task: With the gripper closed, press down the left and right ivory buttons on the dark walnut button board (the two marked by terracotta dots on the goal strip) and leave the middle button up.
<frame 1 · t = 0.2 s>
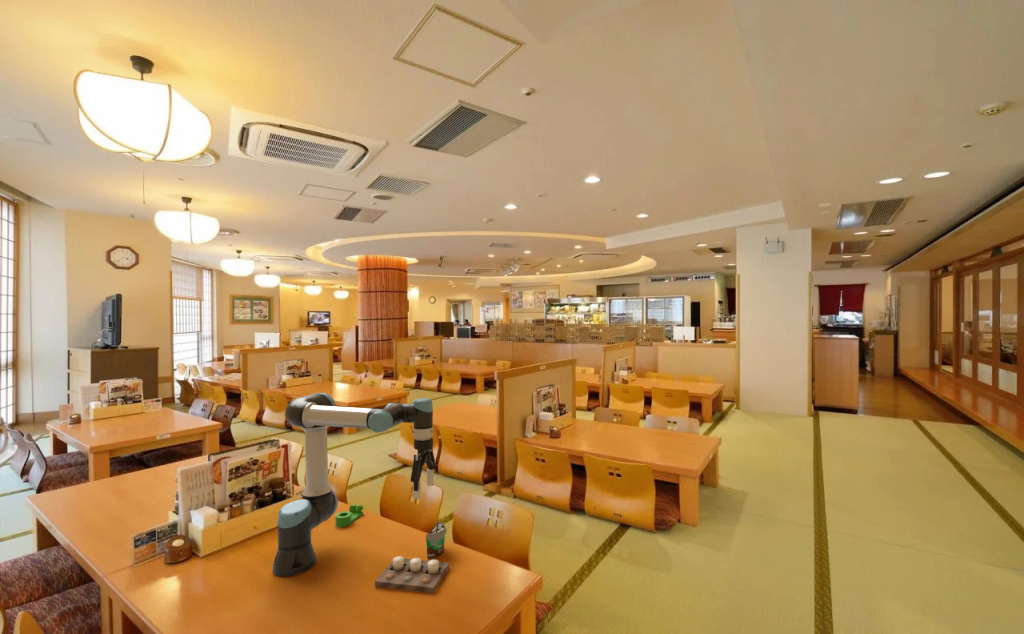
hand: (423, 491, 172), 27 cm above the table, fingers open, 13 cm apart
board: (413, 577, 161), on the table
food container: (438, 553, 178), on the table
button right: (433, 567, 161), point 3 cm above the table, slide at 0.0 cm
button left: (398, 563, 164), point 3 cm above the table, slide at 0.0 cm
button mid: (415, 565, 163), point 3 cm above the table, slide at 0.0 cm
green ring bracket: (348, 521, 209), on the table
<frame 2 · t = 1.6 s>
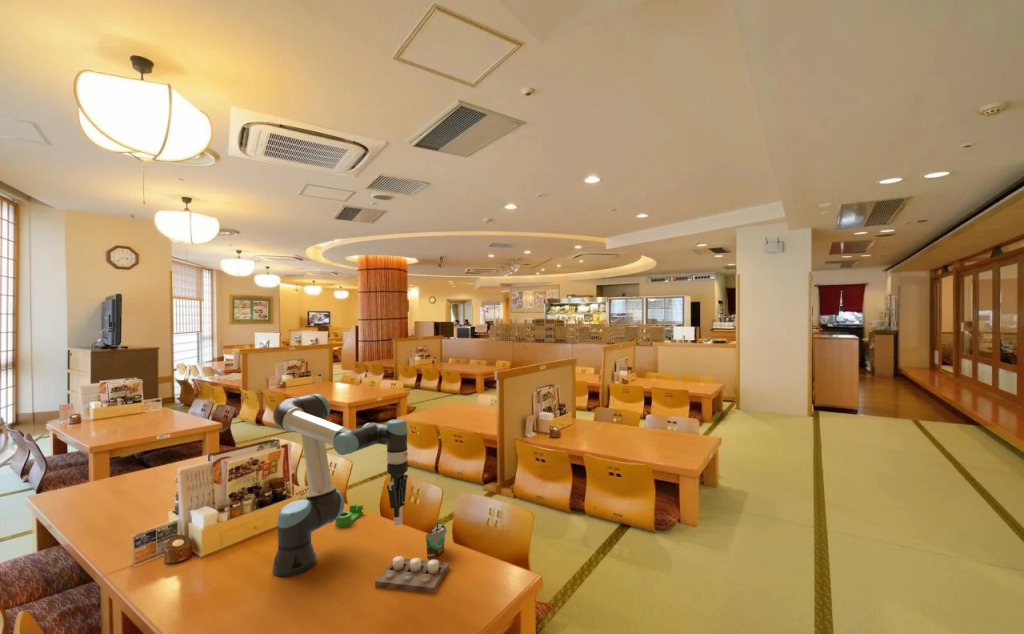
hand: (398, 524, 164), 18 cm above the table, fingers closed
nothing on the table moved.
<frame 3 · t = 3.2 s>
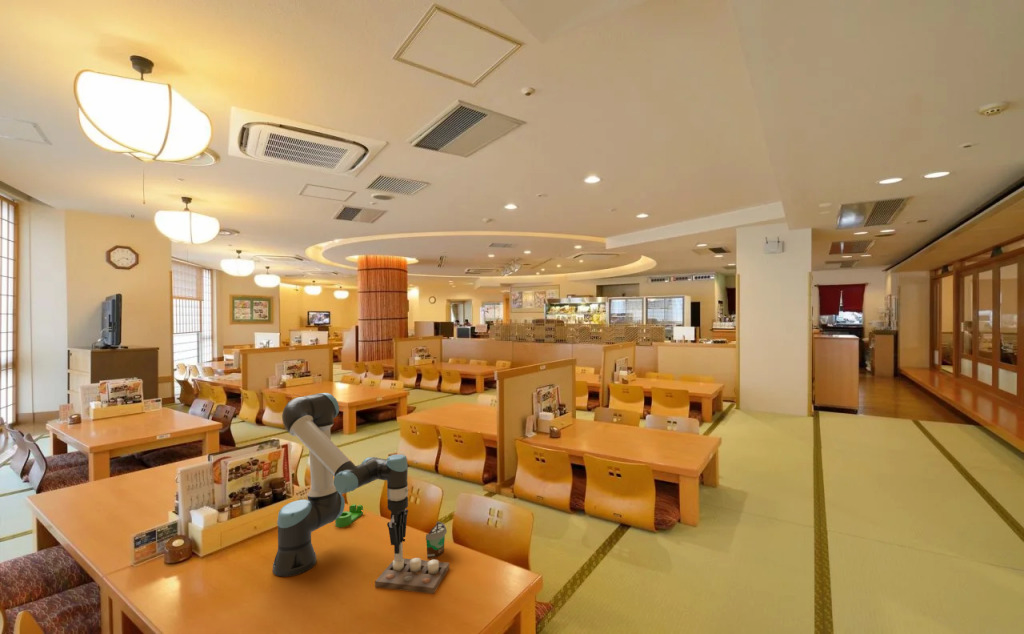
hand: (398, 560, 164), 5 cm above the table, fingers closed
button left: (398, 565, 164), point 3 cm above the table, slide at 0.7 cm, touching gripper
everything else where it was.
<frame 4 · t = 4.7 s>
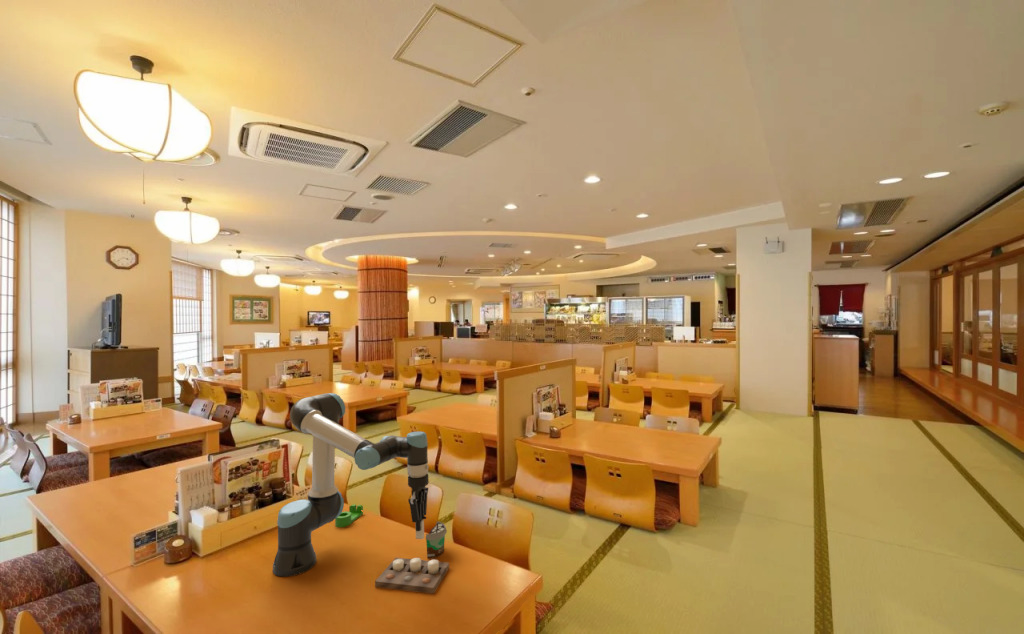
hand: (420, 538, 162), 14 cm above the table, fingers closed
button left: (398, 566, 164), point 2 cm above the table, slide at 1.1 cm
everything else where it was.
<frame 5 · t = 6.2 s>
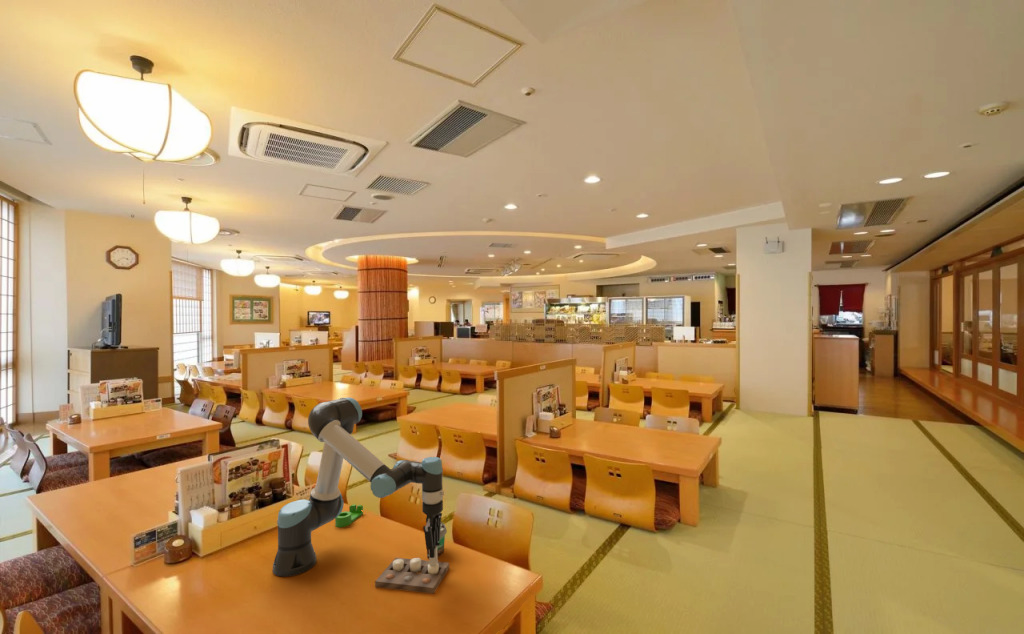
hand: (433, 564, 161), 4 cm above the table, fingers closed
button right: (433, 569, 161), point 2 cm above the table, slide at 1.0 cm, touching gripper
everything else where it was.
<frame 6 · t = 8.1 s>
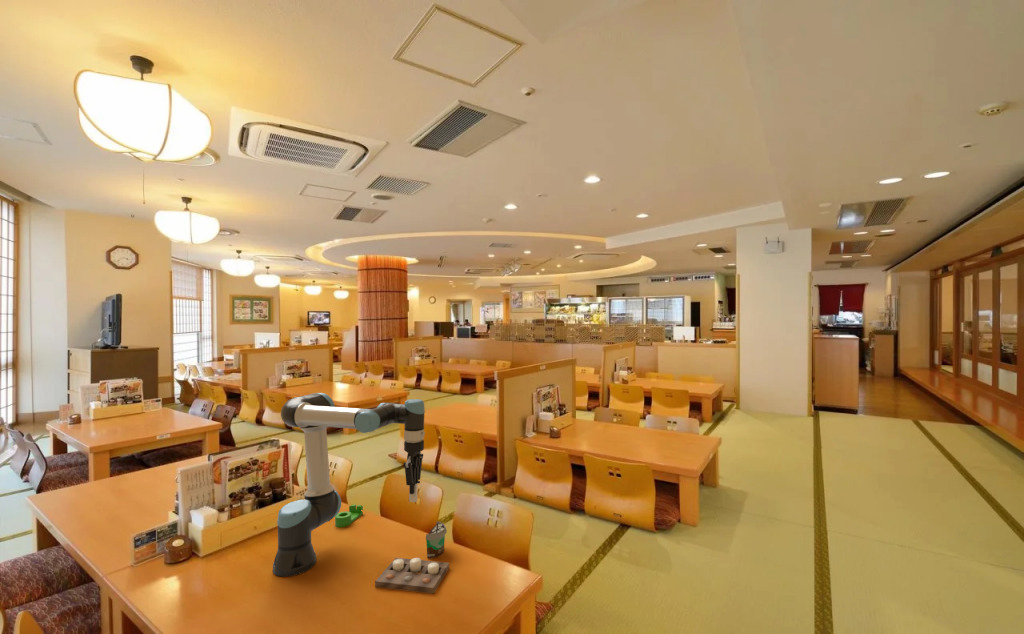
hand: (413, 501, 168), 25 cm above the table, fingers closed
button right: (433, 570, 161), point 2 cm above the table, slide at 1.1 cm
everything else where it was.
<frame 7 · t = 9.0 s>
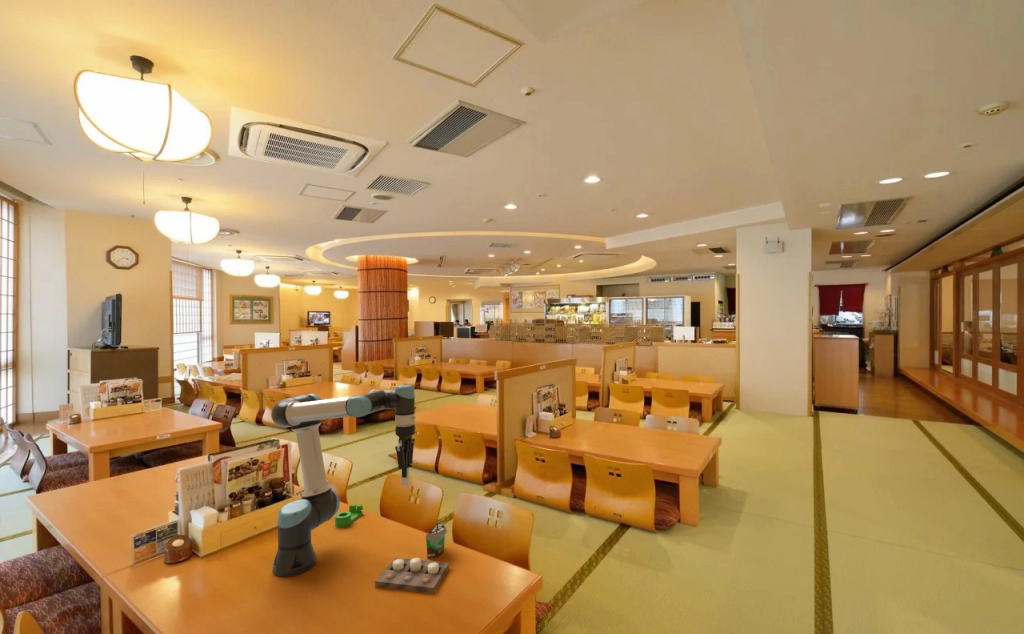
hand: (405, 484, 171), 30 cm above the table, fingers closed
nothing on the table moved.
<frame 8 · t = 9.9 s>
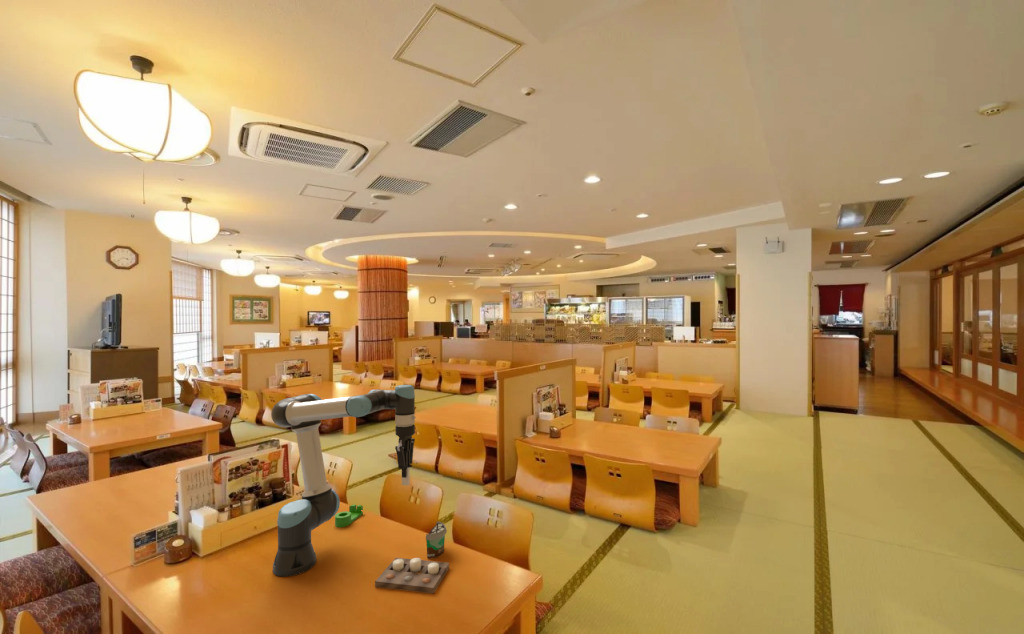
hand: (405, 484, 171), 30 cm above the table, fingers closed
nothing on the table moved.
at the end: button left slide at 1.1 cm; button right slide at 1.1 cm; button mid slide at 0.0 cm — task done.
